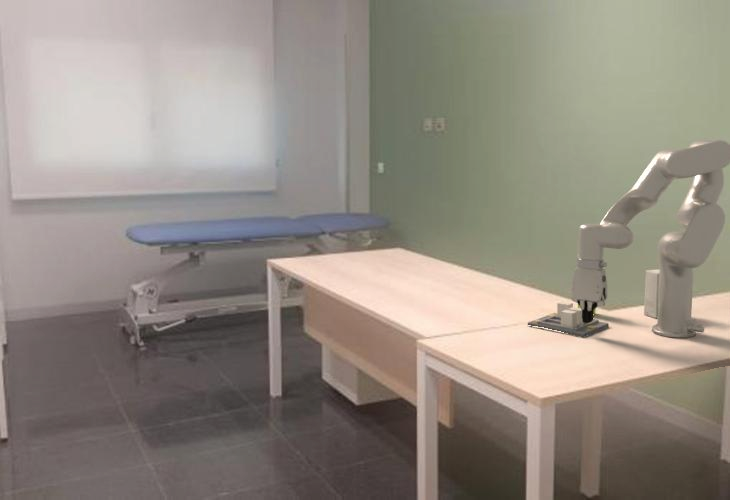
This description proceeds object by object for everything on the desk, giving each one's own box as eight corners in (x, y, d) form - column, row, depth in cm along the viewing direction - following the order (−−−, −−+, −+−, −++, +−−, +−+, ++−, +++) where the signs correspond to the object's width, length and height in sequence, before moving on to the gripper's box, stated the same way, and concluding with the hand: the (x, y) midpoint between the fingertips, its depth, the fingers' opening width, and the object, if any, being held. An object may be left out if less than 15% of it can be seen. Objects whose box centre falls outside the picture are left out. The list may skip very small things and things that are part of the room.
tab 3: (584, 324, 220) (584, 309, 220) (579, 325, 218) (579, 310, 218) (572, 321, 223) (573, 307, 223) (568, 323, 221) (568, 308, 221)
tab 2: (576, 326, 217) (577, 311, 217) (571, 328, 215) (572, 313, 215) (565, 324, 220) (565, 309, 220) (560, 326, 218) (560, 311, 218)
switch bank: (608, 326, 221) (608, 320, 221) (583, 337, 211) (583, 331, 210) (554, 316, 236) (554, 310, 236) (527, 326, 225) (527, 320, 225)
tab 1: (572, 317, 228) (572, 303, 228) (567, 319, 226) (568, 304, 226) (561, 315, 231) (562, 301, 231) (557, 317, 229) (557, 303, 228)
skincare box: (655, 319, 229) (657, 273, 226) (642, 314, 235) (644, 270, 233) (676, 316, 231) (678, 271, 229) (663, 312, 237) (664, 268, 235)
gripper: (618, 265, 207) (615, 324, 210) (574, 259, 217) (572, 315, 220) (606, 268, 202) (603, 329, 204) (561, 262, 212) (559, 319, 215)
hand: (587, 321), depth 212 cm, fingers closed
